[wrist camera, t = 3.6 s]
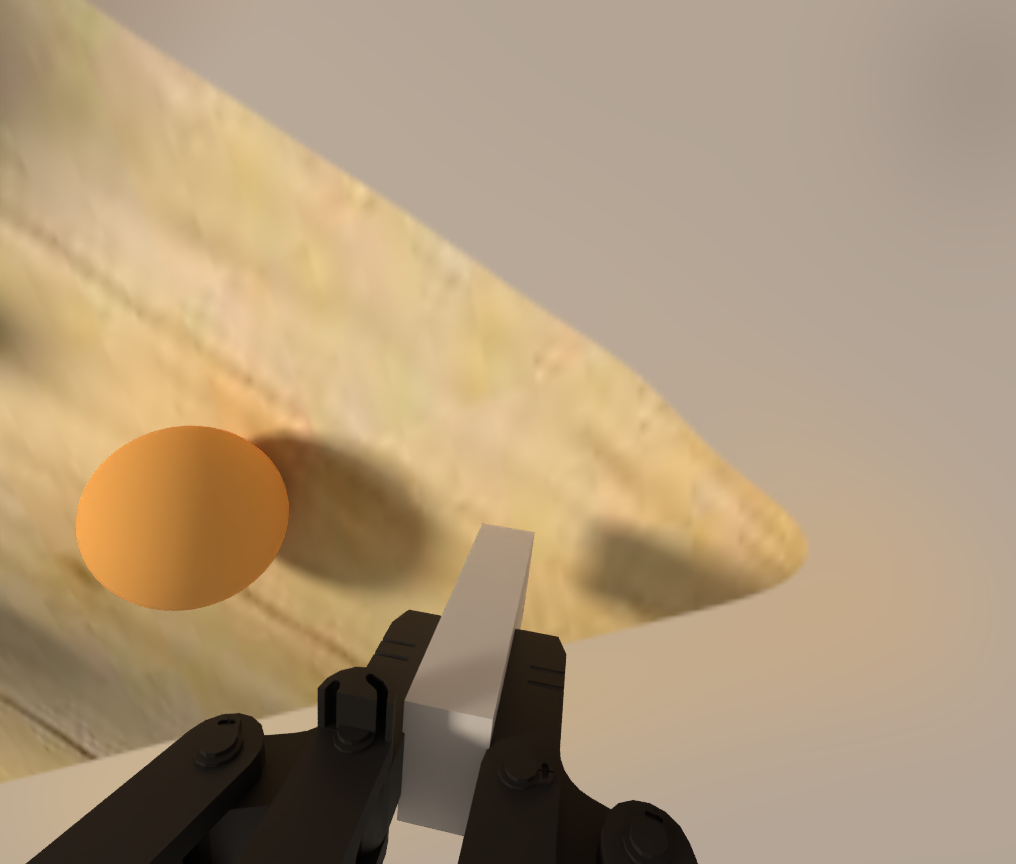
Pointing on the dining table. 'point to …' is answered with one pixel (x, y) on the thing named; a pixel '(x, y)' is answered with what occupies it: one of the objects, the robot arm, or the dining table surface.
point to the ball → (182, 518)
